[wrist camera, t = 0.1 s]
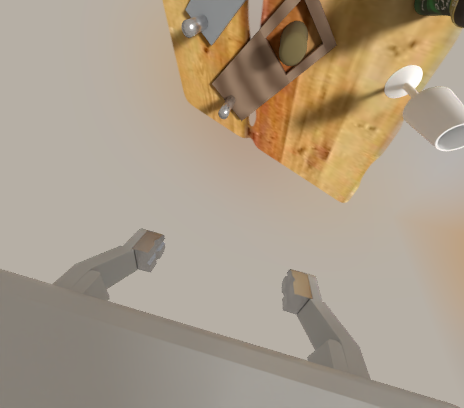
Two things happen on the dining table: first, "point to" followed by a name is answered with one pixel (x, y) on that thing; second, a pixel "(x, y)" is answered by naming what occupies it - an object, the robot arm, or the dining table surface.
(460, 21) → the coffee jar
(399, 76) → the champagne flute
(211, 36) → the grey base with rod
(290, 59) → the cork
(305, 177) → the dining table surface
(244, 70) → the brown board with post
